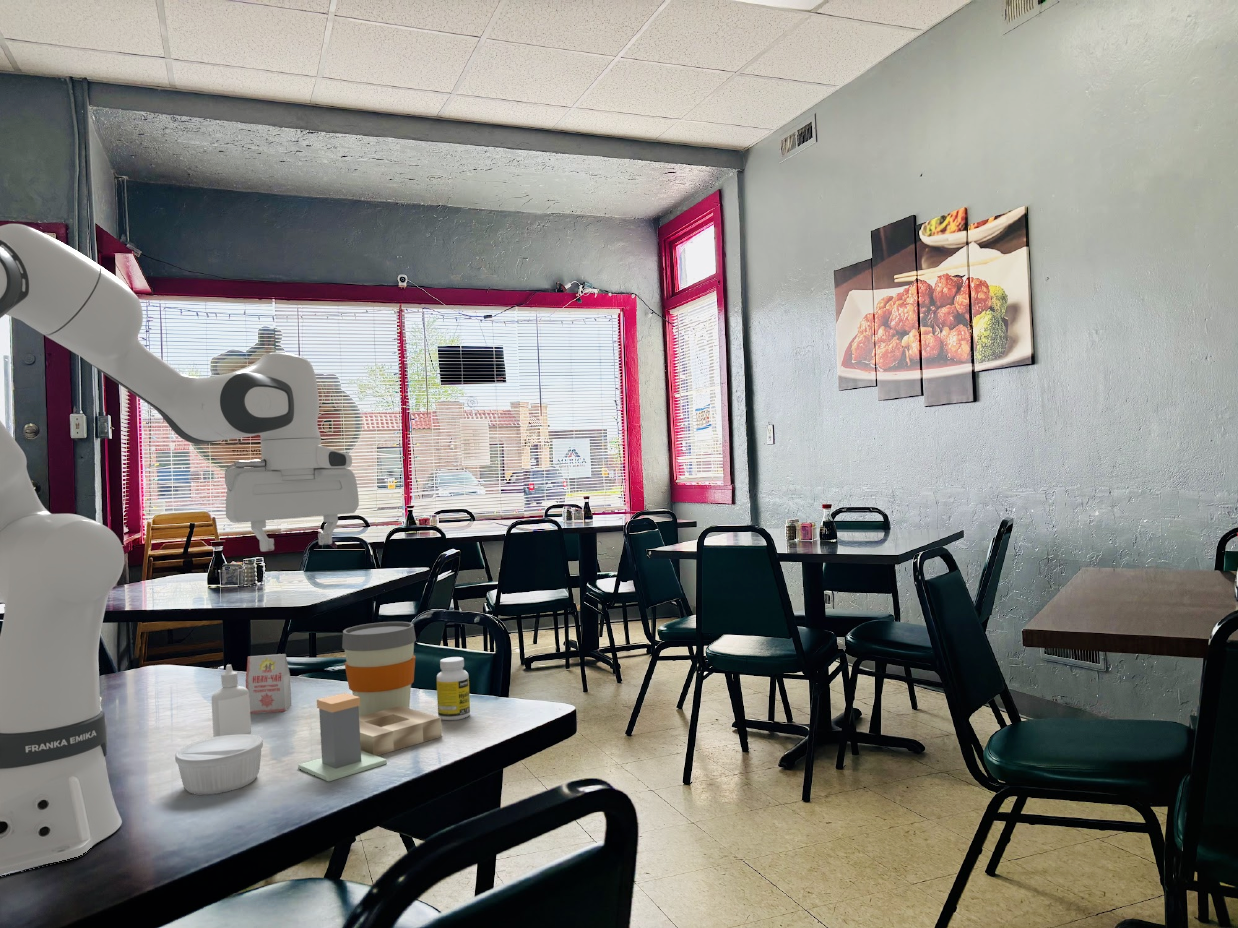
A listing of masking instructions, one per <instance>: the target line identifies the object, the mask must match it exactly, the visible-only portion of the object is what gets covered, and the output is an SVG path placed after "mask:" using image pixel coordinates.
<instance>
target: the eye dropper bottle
mask: <svg viewBox="0 0 1238 928" xmlns="http://www.w3.org/2000/svg"><path fill="white" fill-rule="evenodd" d="M220 675H221V676H220V677H221V678H220V679H221V687H222V688H220V689H218V690H217V691H215V692H214V693H213V694H212V696H211V717H212V735H213V737H217V736H225V735H237V734H251V733H252V724H251V723H252V721H251V714H250V701H249V691H248V689H247V688H246V686H242V685H241V686H240V685H239V682H238V681H239V679H238V678H239V677H238V672H237V671H234V670H233V667H232V664H227V665H226V667H225V671H224V673H221V674H220ZM251 735H252V734H251ZM213 737H212V738H213Z"/></svg>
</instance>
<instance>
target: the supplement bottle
mask: <svg viewBox="0 0 1238 928" xmlns="http://www.w3.org/2000/svg"><path fill="white" fill-rule="evenodd" d="M439 664H440V665H439V666H440V670H441V671H440V672H438V673H437V675H436V695H437V696H436V697H437V699H436V700H437V701H436V702H437V716H438V717H441V721H442V720H443V721H459V720H462V719H465V717H466V718H468V717H469V716H470V715H471V707H470V706H471V704H470V703H471V702H470V700H471V698H470V681H469V680H470V679H469V676H470V675H469V673H468V672H467V671H466V670H465V669H464V667H465V659H464V657H462V656H461V657H460V656H451V657H446V658H442V659H440V660H439Z"/></svg>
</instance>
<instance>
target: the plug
mask: <svg viewBox="0 0 1238 928" xmlns="http://www.w3.org/2000/svg"><path fill="white" fill-rule="evenodd" d="M358 706H360V697H358V696H354V695H353V694H351V693H350V694H349V693H347V692H342V693H338V694H334V695H331V696H330V695H329V696H326V697H322V698H318V699H316V708H317V709H319V710H318V711H319V726H320V727H319V730H320V749H321V758H322V763H323V764H325V765H328V766H330V767H332V768H335V769H337V768H340V767H343V766H347V765H350V764H353V763H357V762H360V761H361V744H360V725H359V707H358Z"/></svg>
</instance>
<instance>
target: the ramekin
mask: <svg viewBox="0 0 1238 928" xmlns="http://www.w3.org/2000/svg"><path fill="white" fill-rule="evenodd" d="M263 747H264V740H263V738H262V737H261V736H259V735H256V734H237V735H225V736H217V737H209V738H208V737H207V738H204V739H201V740H198V741H196V742H192V743H189V744H187V745H185V746H183V747H181V748H180V749H179V750H177V751H176V753H175V756H174V757H175V763H176V764H177V767H178V770H179V771H178V772H179V774H180V775H179V776H180V779H181V783H182V785H183V787H184V789H185V790H186V791H187V792H189V794H190V793H191V794H193V793H195V794H194V795H201V794H205V795H215V794H214V793H216V794H222V792H223V793H227V792H230V791H231V790H232V791H235V790H238V789H241V788H244V787H245V786H247V785H250V784H251V783H252V782H254V781H255V780H256V778H257V776H258V775H259V774H260V768H261V767H260V766H261V760H262V759H261V758H262V757H261V756H262V749H263ZM232 791H231V792H232Z"/></svg>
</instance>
